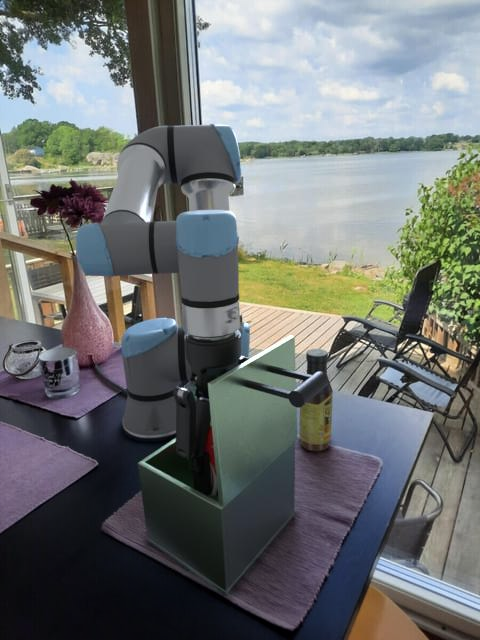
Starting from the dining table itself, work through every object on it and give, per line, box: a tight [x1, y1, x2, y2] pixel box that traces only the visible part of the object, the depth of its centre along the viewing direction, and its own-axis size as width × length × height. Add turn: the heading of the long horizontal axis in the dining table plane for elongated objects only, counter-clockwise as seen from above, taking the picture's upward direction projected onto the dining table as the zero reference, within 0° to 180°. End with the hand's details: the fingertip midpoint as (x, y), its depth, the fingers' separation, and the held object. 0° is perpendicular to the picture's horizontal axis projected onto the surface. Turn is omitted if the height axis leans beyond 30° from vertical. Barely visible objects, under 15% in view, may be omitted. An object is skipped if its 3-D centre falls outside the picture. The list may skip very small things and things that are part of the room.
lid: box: [208, 335, 330, 507], centre depth 55 cm, size 16×17×9 cm
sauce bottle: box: [299, 348, 334, 452], centre depth 86 cm, size 7×6×20 cm
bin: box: [137, 437, 296, 597], centre depth 66 cm, size 15×17×14 cm
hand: (220, 475), depth 65 cm, fingers closed on soda can, 7 cm apart
